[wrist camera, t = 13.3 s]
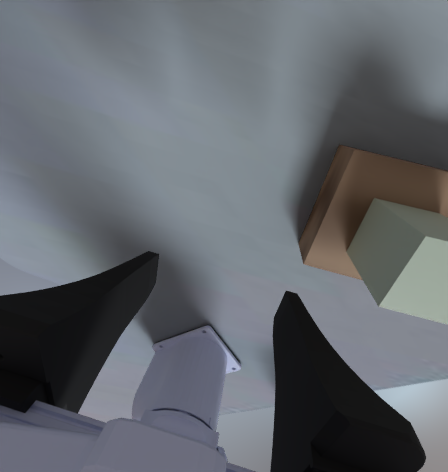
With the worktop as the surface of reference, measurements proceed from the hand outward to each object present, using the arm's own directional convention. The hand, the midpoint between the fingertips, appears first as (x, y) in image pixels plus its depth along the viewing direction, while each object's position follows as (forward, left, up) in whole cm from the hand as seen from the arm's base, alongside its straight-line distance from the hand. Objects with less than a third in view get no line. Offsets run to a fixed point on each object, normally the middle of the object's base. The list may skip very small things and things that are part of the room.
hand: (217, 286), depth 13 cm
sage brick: (+10, -5, -7) cm, 13 cm away
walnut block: (+10, -5, -11) cm, 16 cm away
